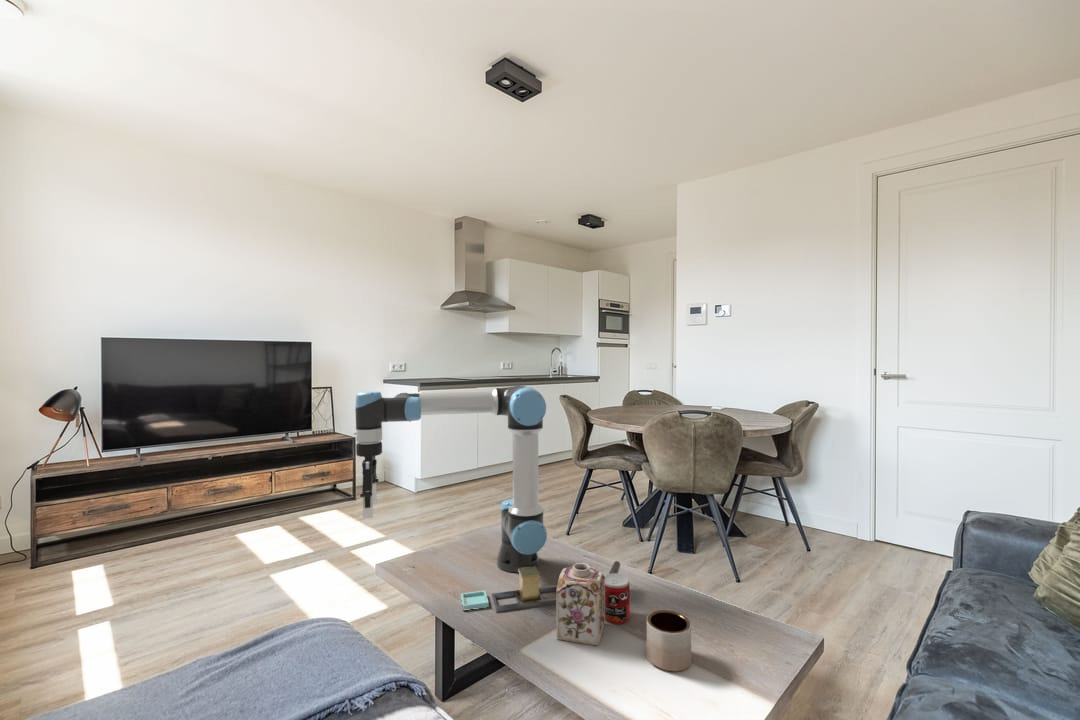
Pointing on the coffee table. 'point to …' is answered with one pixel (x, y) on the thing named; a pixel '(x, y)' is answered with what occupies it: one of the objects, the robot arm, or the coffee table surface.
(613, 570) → the portable electronic device stand
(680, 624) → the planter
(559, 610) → the decorative jar
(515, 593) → the rail
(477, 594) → the parts tray
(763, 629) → the coffee table surface
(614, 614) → the canned food
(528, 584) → the block
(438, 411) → the robot arm
